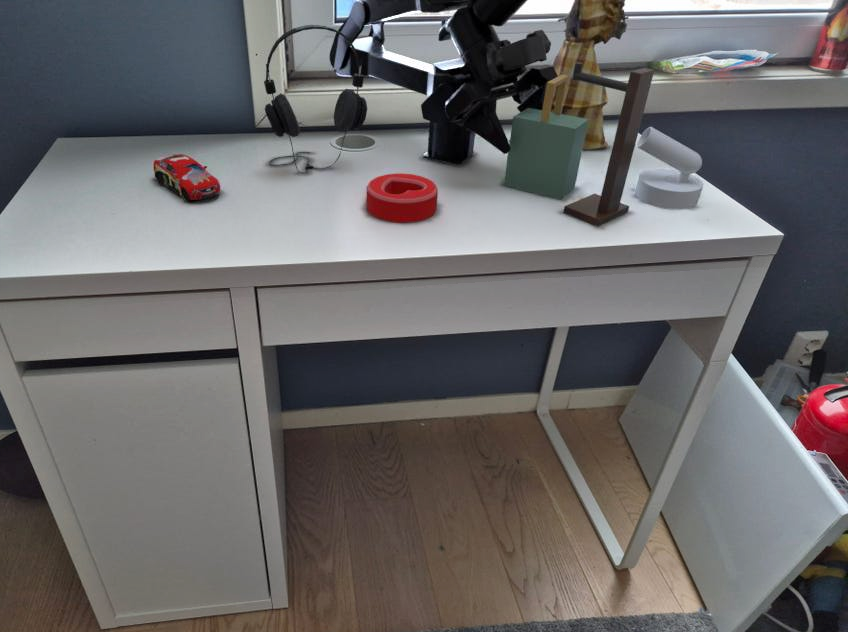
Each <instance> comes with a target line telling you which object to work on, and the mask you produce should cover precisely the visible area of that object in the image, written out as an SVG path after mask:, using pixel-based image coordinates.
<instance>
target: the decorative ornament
mask: <svg viewBox="0 0 848 632" xmlns="http://www.w3.org/2000/svg"><path fill="white" fill-rule="evenodd" d="M438 194H439V189H438V186H437V184H436V183H435V182H434V181H433V180H431V179H429V178H428V177H424V176H421V175H417V174H414V173H413V174H411V173H389V174H383V175H380V176H376V177H375V178H373V179H371V180H370V181H369V182H368V183H367V185H366V202H365V203H366V211H367V212H368V213H369V214H370V215H371V216H373V217H375V218H377V219H379V220H382V221H386V222H390V223H403V224H404V223H405V224H406V223H408V224H409V223H416V222H420V221H425V220H427V219H430V218H432V217H433V216H434V215H435V214H436V212H437V209H438V208H437V206H438V196H439V195H438Z"/></svg>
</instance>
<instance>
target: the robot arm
mask: <svg viewBox="0 0 848 632" xmlns="http://www.w3.org/2000/svg"><path fill="white" fill-rule="evenodd" d="M526 2H528V0H356V1H354V2H353V3H352V6H351V8H350V12H349V15H348V17H346V19H345V20H344V22H343V23H342V24H341V26H340V27H339V28H338V29H337V31H339V32H341V33H342V34H344V35H345V36H346V37H347V38H349V40H350V41H351V43H352V44H353V46H354V48H355V49H356V51H357V54H358V58H359V62H360V60H361V58H362V65H361V75H363V76H364V77H372V78H374V79H379V80H381V81H383V82H387V83H390V84H393V85H395V86H398V87H401V88H404V89H406V90H409V91H412V92H415V93H419V94H421V95H424V96H426V99H425V100H424V101H422V103H421V104H420V109H421V116H422V119H423V120H425V121H428V122H429V124H428V125H429V126H428V140H427V141H428V142H427V151H426V152H425V153H423V155H422V158H423V159H427V160H430V161H431V160H432V161H436V162H442V163H447V164H453V165H458V166H459V165H462V164H463V163H464V162H466V161H467V160H468V159H469V158H470V157H471V156H473V154H474V152H475V151H474V149H475V142H476V141H475V140H476V135H477V136H479V137H480V138H482V139H483V140H485V141H486V142H487V143H489V144H490V145H492V146H493V147H494V148H496V149H497V150H498V151H500V152H501V153H502V154H503V155H506V154H507V155H508V152H509V151H510V150H511V148H510V145H509V144H510V141H509V139H508V137H507V135H506V132H505V129H504V128H503V125H502V123H501V121H500V119H499V117H498V114H497V104H498V103H497V101H500V100H503V99H506V98H510V97H512V100H513V101H514V102H515V103H517V104H518V106H517V107H516V109H517V111H519V113H520V112H522V111H524V110H526V109H527V108H532V109H537V110H542V109H543V103H544V97H545V91H546V85H547V82H549V81H551V80H553V79H554V78H556V77H558V75H557V73H556V71H555V69H554V67H553V66H551V64H550V65H549V64H542V65H537V66H533V67H531V68H530V69H529V70H527V67H526V66H530V65H532V64H535V63H537V62H540V63H542V62H545V61H547V59H548V58H547V57H548V56H547V54H549V53H550V51H551V46H552V42H551V40H550V39H549V38H548V35H547V34H546V33H545V31H544V30H543V29H538V30H533V32H531V33H530V32H529V33H527V34H526V36H525V38H522V39H519V40H517V41H514V42H511V41H510V40H508V39H503V40H500V37H499V35H498V33H497V32H496V30H495V28H494V27H503V26H505V25H506V24H507V23H508V22H509V21H510V20H511V19H512V17H513V16H514V15H515V14H516V13H517V12H518V11H519V10H521V8H522V7H523V6H524V5H525V4H526ZM453 11H455V12H454V13H453V14H452V15H451V17H450V18H449V19H442V20H441V21H440V22H441V23H440V29H439V32H438V35H437V40H438V41H439V42H444V41H450V40H452V41H453V45H454V46H455V48H456V50H457V52H458V54H459V56H460V57H459V58H454V59H450V60H449V59H448V60H444V61H438V62H434V63H432V64H431V63H429V62H424V61H421V60H417V59H414V58H410V57H408V56H404V55H401V54H397V53H394V52H392V51H388V50H386V49H385V47H384V43H385V41H386V39H385V38H386V37H385V31H384V30H385V29H384V25H385V23H386V21H389V20H393V19H396V18H400V17H404V16H408V15H412V14H415V13H424V14H429V13H430V14H433V13H434V14H438V13H444V12H445V13H446V12H453ZM366 26H370V30H369V33H368V35H361V34H362V32H363V31H364V28H365V27H366ZM329 63H330V65H331V66H332V69H333V71H334V72H335V74H336V75H337V76H340V77H352V78H353V76H354V74H359V73H358V65H357V60H356V56H355V53H354V51H353V49H352V47H351V45H350V44H349V42H348V41H347V40H346V38H344V37H343V36H342V35H340V34H338V33H337V32H335V35H334V38H333V41H332V45H331V47H330V51H329ZM526 71H527V72H526ZM521 75H522V76H521ZM519 76H521V77H520V78H519V79H518V77H519Z"/></svg>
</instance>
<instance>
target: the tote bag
mask: <svg viewBox="0 0 848 632" xmlns="http://www.w3.org/2000/svg"><path fill="white" fill-rule="evenodd" d="M567 80H568V76H567V75H560V76H558V77H556V78H554V79H553V80H551V81H549V82H547V85H546V91H545V97H544V103H543V109H542V110H537V109H532V108H527V109H526V110H524V111H522V112H520V111H519V112H518V113H517V114H515V115H514V116H512V123H511V131H510V137H509V145H510V148H511V150H510V151H509V152H508V153H507V159H506V164H505V173H504V180H503V186H505V187H509V188H513V189H516V190H521V191H524V192H527V193H533V194H536V195H541V196H545V197H548V198H552V199H556V200H561V201H562V200H563V199H564V198H565V197H567V196H568V195H569V194H570V193H572V192H573V191H574V189H575V187H576V183H577V178H578V173H579V169H580V164H581V159H582V154H583V151H584V150H583V145H584V141H585V136H586V131H587V126H588V122H589V119H585V118H580V117H574V116H569V115H564V114H561V113H562V108H563V102H564V97H565V91H566V86H567ZM556 86H558V90H557V95H556V101H555V107H554V112H551V106H552V101H553V95H554V89H555V87H556Z"/></svg>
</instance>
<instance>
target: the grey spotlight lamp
mask: <svg viewBox="0 0 848 632" xmlns="http://www.w3.org/2000/svg"><path fill="white" fill-rule="evenodd" d="M637 140H638V141H637V143H636V148H638V149H639V150H641V151H643V152H645V153H646V154H648V155H650V156H652V157H654V158H655V159H657V160H659V161H660V162H662V163H664V164H666V165H668V166H669V167H672V168H673V169H670V168H669V169H668V168H650V169H645V170H643V171H641V172H640V173H639V175H638V177H637V181H636V182H637V183H636V185H635V188H634V195H635V197H636V198H637V199H638V200H639V201H641V202H643V203H645V204H648V205H651V206H654V207H658V208H663V209H668V210H669V209H670V210H687V209H690V208H694V207H696V206H697V205H698V203H699V200H700V196H701V194H702V191H703V188H704V181H702V180H701V179H700V178H699V177H697V176H695V175H693V174H696V173H697V172H698V171H699V170H700V169H701V168H702V166H703V160H702V157H701V155H700V154H699V153H698V152H697V151H695V150H693V149H691V148H690V147H688V146H686V145H684V144H683V143H680V142H679V141H677V140H675V139H674V138H673V137H671V136H668V135H666V134H665V133H663V132H661V131H659V130H658V129H656V128H654V127H652V126H648V127H647V128H646V129H645V130H644V131H643V132H642V133H641V136H639V139H637Z"/></svg>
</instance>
